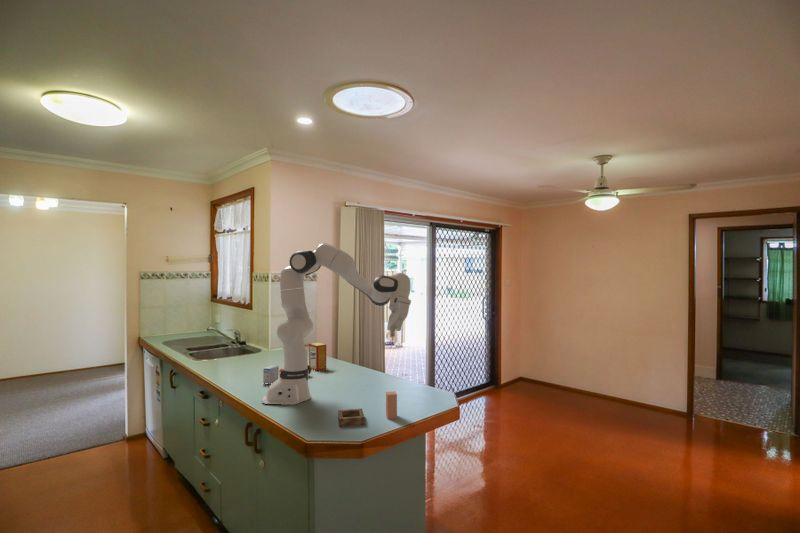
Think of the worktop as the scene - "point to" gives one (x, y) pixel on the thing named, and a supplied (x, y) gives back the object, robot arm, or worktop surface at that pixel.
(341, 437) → the worktop surface
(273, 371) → the medicine box
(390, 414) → the salmon orange rectangular block
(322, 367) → the baking soda box
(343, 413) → the walnut well
